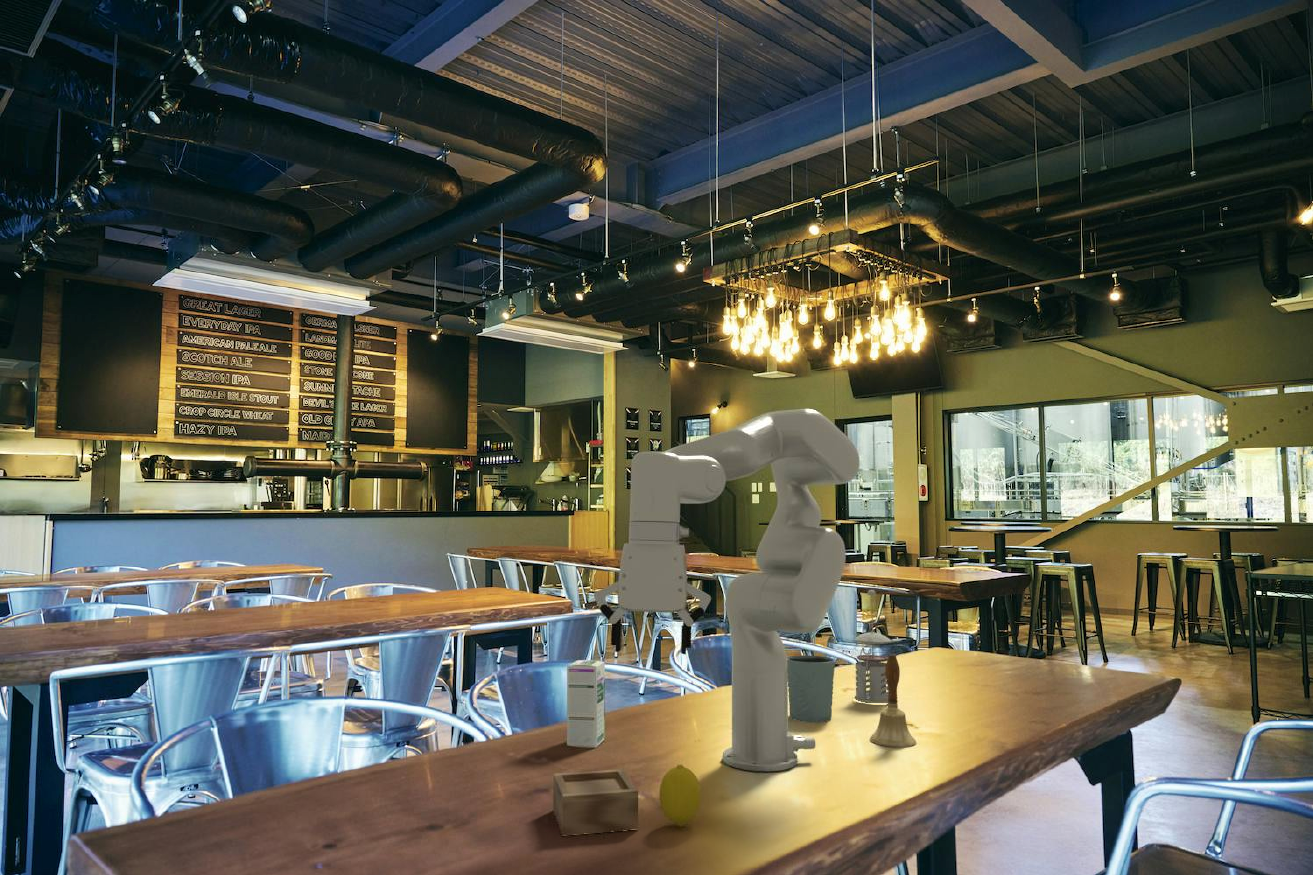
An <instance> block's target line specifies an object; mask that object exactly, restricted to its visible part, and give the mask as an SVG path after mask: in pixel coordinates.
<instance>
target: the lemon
mask: <svg viewBox="0 0 1313 875" xmlns="http://www.w3.org/2000/svg"><path fill="white" fill-rule="evenodd" d="M659 786H660V787H659V805H660V809H661V810H662V813H663V815H664V816H665V817H666V818H667V819H668V820H670V821H671V822H673V823H674V824H676V826H677V827H679V826H681V827H683V826H684V825H685V824H686V823H687V822H689V821H691V820H692V819H694V818H695V816H696V815H697V813H698V812H699V809H700V806H701V805H700V804H701V800H702V799H701V798H702V797H701V796H702V795H701V794H702V793H701V787H700V783H699V780H698V778H697V776H696V775H695V773H694V772H693V771H692V770H691V769H689V768H687V767H685V766H684V765H683V764H677V765H676V767H673V768H671V769H669V770H668V771H667V772H666V773H665V774H664V776H663V777H662V780H661V783H660V785H659Z"/></svg>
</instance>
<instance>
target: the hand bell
mask: <svg viewBox="0 0 1313 875" xmlns="http://www.w3.org/2000/svg"><path fill="white" fill-rule="evenodd" d="M887 657H888V660H887V661H886V662H885V663H886V668H885V674H886V681H887V684H888V685H887V684H886V685H887V686H888V690H887V692H888V705H887V708H884V709H882V710H880V713H879V714H880V716H879V722H878V726H877V728H876V730H875V732H873V734H871V736H870V738H869V740H870V742H872V743H874V744H876V745H880V746H884V747H888V748H910V747H914V746H916V745H917V741H916V739H915V738H914V736H912V734H911V732H910V731H909V728H908V724H907V719H906V718H907V717H906V714H905V712H904V711H902V710H901V709H899V707H898V685H899V682H900V676H901V674H900V672H901V671H900V665H899V661H898V659H897V655H896V653H888V656H887Z"/></svg>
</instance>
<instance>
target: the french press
mask: <svg viewBox="0 0 1313 875" xmlns="http://www.w3.org/2000/svg"><path fill="white" fill-rule="evenodd" d="M876 592H877V591H875V590H874V589H869V590H868V591H867V595H868V596H871V597H870V598H871V603H873V596H876V595H877V593H876ZM873 610H874V609H873V606H871V631H869V632H865V633H861V634H859V635H858V636H856V637H855V638H854V642H856V643H859V644H868V645H872V647H870V648H869V650H868V651H867V652H865V648H864V647H862V648H861V650H860V655H859V654H858V655H857V656H856V659H857V660H858V661H857V662H855V697H854V698H855V699H856V700H858V701H861V702H865V703H888V684H887V681H886V674H885V668H886V663H887V660H888V657H889V656H885V655H881V654H879V655H877V654H876V655H875V654H874V645H880V644H881V645H883V644H889V643H890V642H891V641H892V640H891V639H890V638H889V637H887V636H885V635H883V634H881V633H879V632H878V633H877V632H875V631H874V619H873V617H874V616H873V613H874V612H873ZM862 653H863V654H862ZM867 683H869V684H867ZM867 689H869V690H867Z"/></svg>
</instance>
